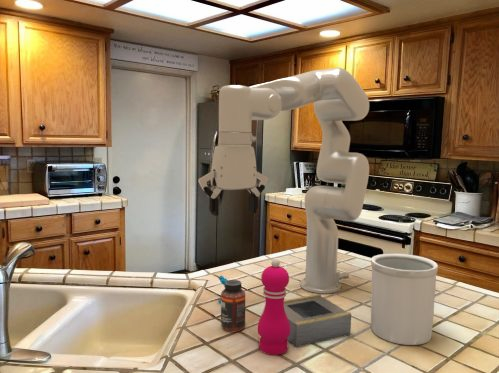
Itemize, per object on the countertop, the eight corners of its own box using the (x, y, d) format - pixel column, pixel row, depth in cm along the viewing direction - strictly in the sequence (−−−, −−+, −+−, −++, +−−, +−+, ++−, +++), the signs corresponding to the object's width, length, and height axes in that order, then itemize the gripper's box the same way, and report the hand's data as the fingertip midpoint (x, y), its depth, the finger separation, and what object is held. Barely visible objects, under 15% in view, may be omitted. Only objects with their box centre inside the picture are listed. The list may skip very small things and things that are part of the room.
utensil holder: (355, 324, 104) (358, 255, 102) (401, 315, 110) (405, 250, 108) (397, 352, 91) (402, 274, 89) (447, 340, 97) (453, 266, 95)
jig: (318, 313, 110) (319, 294, 109) (350, 334, 98) (351, 313, 98) (268, 323, 104) (269, 302, 103) (296, 347, 92) (296, 324, 91)
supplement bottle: (248, 324, 103) (249, 279, 102) (240, 334, 97) (240, 288, 96) (226, 320, 105) (226, 276, 104) (216, 330, 99) (217, 284, 98)
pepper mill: (255, 340, 95) (257, 254, 93) (286, 339, 95) (289, 254, 93) (258, 356, 88) (260, 264, 85) (292, 355, 88) (295, 264, 86)
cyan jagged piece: (248, 303, 112) (222, 277, 111) (232, 319, 111) (206, 293, 111) (245, 293, 123) (221, 270, 122) (231, 308, 122) (207, 284, 122)
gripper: (261, 140, 103) (259, 209, 105) (193, 139, 96) (193, 213, 98) (275, 141, 96) (273, 214, 98) (204, 140, 89) (204, 218, 91)
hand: (233, 213), depth 98 cm, fingers open, 9 cm apart
